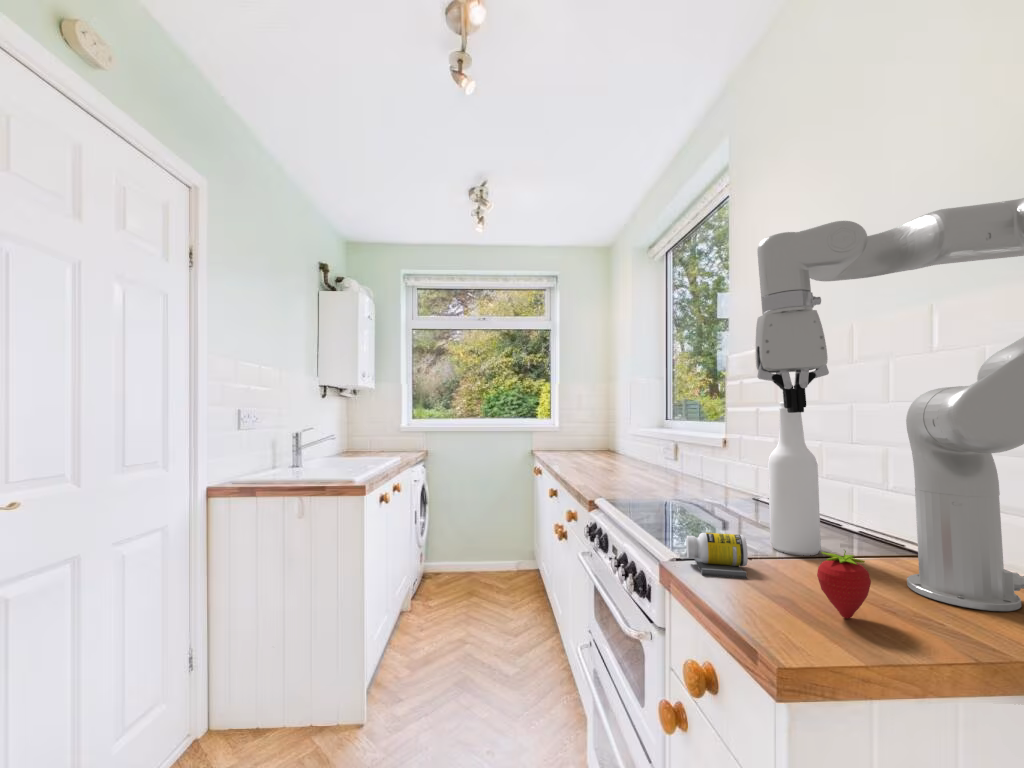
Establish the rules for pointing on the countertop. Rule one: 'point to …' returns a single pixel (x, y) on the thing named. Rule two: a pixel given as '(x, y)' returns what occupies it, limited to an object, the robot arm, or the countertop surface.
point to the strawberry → (844, 582)
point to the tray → (720, 570)
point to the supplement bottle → (718, 549)
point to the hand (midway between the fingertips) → (795, 412)
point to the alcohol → (793, 490)
